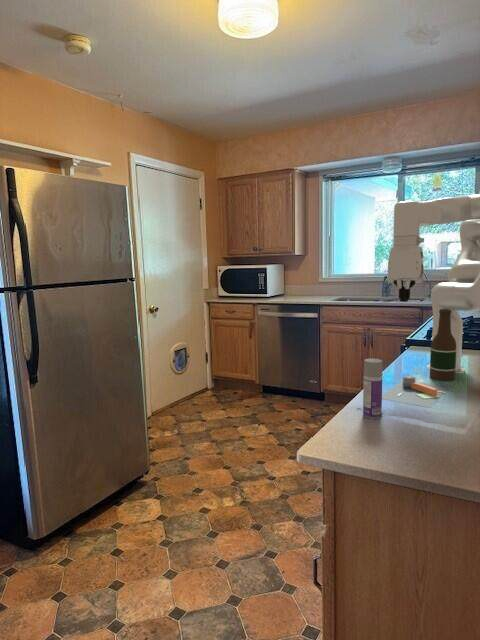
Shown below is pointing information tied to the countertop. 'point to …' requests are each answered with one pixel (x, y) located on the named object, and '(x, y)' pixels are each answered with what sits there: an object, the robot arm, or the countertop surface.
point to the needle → (418, 385)
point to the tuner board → (414, 395)
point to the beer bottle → (443, 350)
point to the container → (372, 388)
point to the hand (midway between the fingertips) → (404, 301)
